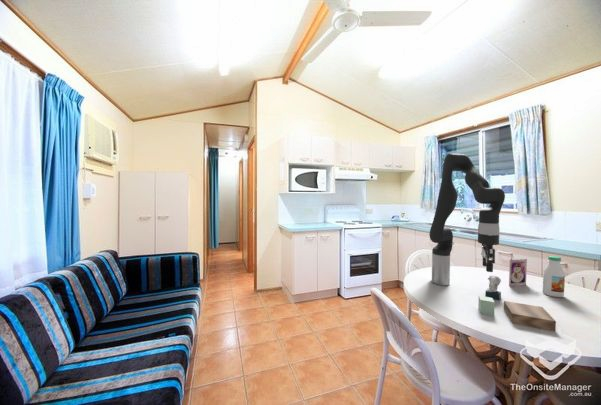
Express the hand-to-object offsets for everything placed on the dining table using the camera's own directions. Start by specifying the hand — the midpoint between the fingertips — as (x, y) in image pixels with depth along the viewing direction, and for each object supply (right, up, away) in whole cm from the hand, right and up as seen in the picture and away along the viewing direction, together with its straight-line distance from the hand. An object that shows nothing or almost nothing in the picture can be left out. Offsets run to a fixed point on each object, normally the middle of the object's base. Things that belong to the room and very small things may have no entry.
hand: (487, 268), depth 108 cm
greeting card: (+41, -18, +34) cm, 56 cm away
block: (0, -20, +1) cm, 20 cm away
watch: (+15, -19, +16) cm, 29 cm away
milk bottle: (+48, -19, +18) cm, 55 cm away
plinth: (+12, -20, -6) cm, 24 cm away
